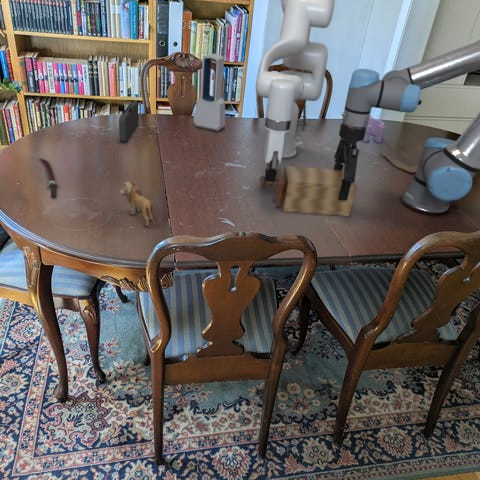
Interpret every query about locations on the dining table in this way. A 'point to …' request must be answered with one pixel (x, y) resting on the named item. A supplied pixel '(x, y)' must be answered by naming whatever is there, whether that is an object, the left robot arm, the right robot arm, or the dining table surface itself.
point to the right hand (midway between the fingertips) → (338, 190)
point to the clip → (374, 129)
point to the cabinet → (315, 191)
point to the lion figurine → (137, 201)
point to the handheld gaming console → (128, 121)
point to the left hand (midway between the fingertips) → (269, 180)
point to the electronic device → (207, 106)
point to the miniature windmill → (303, 106)
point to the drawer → (276, 186)
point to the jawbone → (401, 164)
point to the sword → (52, 181)
